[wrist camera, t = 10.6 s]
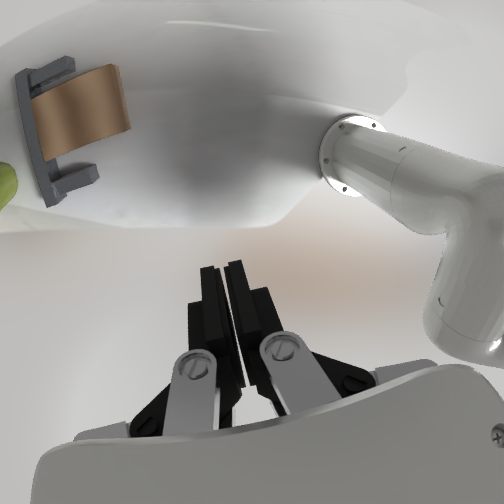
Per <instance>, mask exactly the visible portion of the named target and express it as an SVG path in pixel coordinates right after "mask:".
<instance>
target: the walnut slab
mask: <svg viewBox="0 0 504 504" xmlns="http://www.w3.org/2000/svg"><path fill="white" fill-rule="evenodd" d="M30 102H31V108H32V113H33V117H34V122H35V126H36V131H37V135H38V139H39V143H40V146H41V150H42V154H43V157H44V161H45V162H47V161H49V160H51V159H53V158H55V157H58V156H60V155H62V154H65V153H67V152H70V151H72V150H74V149H77V148H79V147H82V146H85V145H87V144H90V143H92V142H95V141H98V140H101V139H103V138H106V137H109V136H112V135H115V134H118V133H121V132H124V131H126V130H129V129H131V127H130V122H129V118H128V113H127V109H126V104H125V100H124V95H123V90H122V85H121V80H120V74H119V69H118V66H115V65H113V64H108V65H106V66H103V67H100V68H98V69H95V70H93V71H90V72H88V73H85V74H83V75H81V76H78V77H76V78H74V79H71V80H69V81H67V82H65V83H63V84H61V85H59V86H57V87H55V88H53V89H51V90H49V91H47V92H45V93H43V94H41V95H39V96H37V97H35V98H34V99H32V100H30Z"/></svg>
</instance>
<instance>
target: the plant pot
mask: <svg viewBox="0 0 504 504" xmlns="http://www.w3.org/2000/svg"><path fill="white" fill-rule="evenodd" d="M17 186H18V181H17V178H16V175H15V171H14V169H13V168H12V167H11V166H10V165H8V164H5V163H1V164H0V211H1V210H2V208H3V207H4V206H5V205H6V204H7V203H8V202H9V201H10V200H11V199H12V198H13V196H14V195H15V193H16V191H17Z"/></svg>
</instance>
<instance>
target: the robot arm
mask: <svg viewBox="0 0 504 504" xmlns="http://www.w3.org/2000/svg"><path fill="white" fill-rule="evenodd" d="M339 125H340V128H339ZM324 159H326V160H325V161H324ZM319 163H320V168H321V171H322V174H323V176H324V178H325V179H326V181H327V182H328V184H329V185H330V186H331V187H332V188H334V189H335V190H337V191H338V192H340V193H342V194H344V195H348V196H364V197H365V198H367V199H368V200H370V201H371V202H372V203H374V204H375V205H377V206H378V207H379V208H381V209H382V210H384V211H385V212H386V213H388V214H389V215H391V216H392V217H393V218H395V219H396V220H397V221H399V222H401V223H402V224H403V225H404V226H406V227H407V228H409V229H410V230H412V231H413V232H416V233H418V234H422V235H438V234H442V233H446V232H447V236H446V241H445V245H444V249H443V252H442V258H441V260H440V263H439V267H438V269H437V272H436V275H435V278H434V281H433V284H432V286H431V289H430V292H429V295H428V297H427V300H426V303H425V307H424V311H423V326H424V330H425V332H426V334H427V336H428V338H429V339H430V340H431V342H432V343H433V344H434V345H435V346H436V347H437V348H438V349H440V350H441V351H443V352H444V353H446V354H448V355H450V356H452V357H454V358H457V359H460V360H463V361H467V362H471V363H476V364H480V365H485V366H491V367H496V368H502V369H504V167H500V166H496V165H492V164H488V163H483V162H479V161H476V160H472V159H468V158H465V157H462V156H459V155H455V154H453V153H450V152H447V151H444V150H441V149H438V148H435V147H433V146H430V145H426V144H424V143H421V142H417V141H414V140H411V139H408V138H405V137H401V136H398V135H395V134H391V133H387V132H386V131H385V129H384V128H383V127H382V126H381V125H380V124H379V123H378V122H377V121H375V120H373V119H371V118H369V117H365V116H360V115H352V116H348V117H344V118H342V119H340V120H338V121H337V122H336V123H334V124H333V125H332V126H331V127H330V128H329V129H328V131H327V132H326V134H325V136H324V137H323V140H322V143H321V146H320V152H319ZM342 188H343V189H342ZM228 265H229V266H226V267H224V272H225V277H226V283H227V288H228V293H229V299H230V304H231V309H232V314H233V319H234V325H235V330H236V334H237V338H238V342H239V345H240V350H241V353H242V357H243V361H244V365H245V368H246V372H247V376H248V379H249V383H250V386H254V385H256V387H257V391H258V394H260V395H262V396H264V397H266V398H268V399H269V400H270V404H271V406H272V408H273V410H274V412H275V414H276V416H277V418H274V419H270V420H266V421H261V422H257V423H252V424H247V425H241V426H236V427H235V406H234V405H235V404H236V403H237V402H238V401H239V399H240V398H241V396H242V392H241V388H244V387H246V385H245V380H244V376H243V370H242V365H241V361H240V356H239V351H238V346H237V342H236V336H235V331H234V326H233V321H232V316H231V313H230V309H229V305H228V301H227V297H226V293H225V289H224V285H223V280H222V276H221V273H220V269H219V268H217V269H214V266H209V267H204V268H200V273H201V290H202V301H198V302H193V303H188V343H189V351H188V352H186V353H184V354H182V355H181V356H180V357H179V358H178V359H177V361H176V362H175V365H174V368H173V373H172V379H171V383H170V384H169V385H168V386H167V387H166V388H165V389H164V390H163V391H161V393H159V394H158V395H157V396H156V397H155V398H154V399H153V400H152V401H151V402H150V403H149V404H148V405H147V406H146V407H145V408H144V409H143V410H142V411H141V412H140V413H139V414H138V415H136V416H135V418H134V419H133V420H132V422H130V423H126V422H125V421H124V422H120V423H116V424H112V425H108V426H104V427H100V428H96V429H91V430H87V431H83V432H81V433H79V434H78V435H76V437H75V438H74V440H73V442H69V443H65V444H62V445H59V446H57V447H54V448H52V449H50V450H49V451H47V452H46V453H45V454H44V455H43V456H42V457H41V458H40V460H39V462H38V464H37V467H36V470H35V474H34V479H33V485H32V491H31V502H30V504H504V401H503V399H502V398H501V397H500V395H499V394H498V392H497V391H496V390H495V388H494V387H493V386H492V385H491V384H490V383H489V381H488V380H487V379H486V378H485V377H484V376H483V375H482V374H480V372H478V371H477V370H476V369H474V368H472V367H470V366H467V365H461V364H449V365H439V366H438V365H437V364H436V363H435V362H433V361H431V360H428V359H420V360H416V361H411V362H406V363H402V364H396V365H390V366H385V367H379V368H375V371H370V372H368V371H366V370H364V369H362V368H359V367H356V366H352V365H350V364H346V363H343V362H340V361H337V360H334V359H331V358H328V357H326V356H323V355H320V354H317V353H314V352H311V351H310V350H309V349H308V347H307V346H306V344H305V343H304V341H303V340H302V339H301V338H300V337H299V336H298V335H297V334H295V333H292V332H288V331H284V330H283V327H282V325H281V322H280V319H279V317H278V314H277V311H276V309H275V306H274V304H273V301H272V298H271V296H270V293H269V291H268V288H267V287H263V288H258V289H254V290H250V288H249V285H248V282H247V278H246V275H245V272H244V268H243V264H242V261H241V260H237V261H233V262H228Z"/></svg>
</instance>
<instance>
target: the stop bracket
mask: <svg viewBox="0 0 504 504" xmlns="http://www.w3.org/2000/svg"><path fill="white" fill-rule="evenodd" d="M74 71H76V69H75V61H74V58H71V57H68V56H64V57H62V58H60V59H58V60H56V61H53V62H51V63H49V64H48V65H46V66H44V67H42V68H40V69H29V68H26V69H24V70H22V71H21V72H19V73H17V74H16V75H15V79H16V87H17V94H18V100H19V106H20V112H21V117H22V122H23V127H24V132H25V136H26V140H27V144H28V148H29V152H30V156H31V160H32V163H33V167H34V170H35V174H36V177H37V180H38V183H39V187H40V190H41V193H42V196H43V199H44V201H45V204H46V207H47V208H48V207H51V206H53V205H56V204H58V203H59V202H60V201H61V200H63V199H64V198H65V197H66V196H67V194H66V192H69V191H72V190H75V189H78V188H81V187H84V186H87V185H90V184H93V183H94V182H95V181H96V180H97V179H98V178H99V174H98V171H97V167H96V164H95V165H92V166H89V167H86V168H83V169H80V170H77V171H75V172H72V173H69V174H67V175H64V176H61V175H60V172H59V168H58V165H57V161H56V158H53V159H51V160H49V161H47V162H45V161H44V157H43V154H42V150H41V146H40V143H39V139H38V135H37V131H36V126H35V122H34V117H33V113H32V108H31V102H30V100H32V99H34V98H35V97H37V96H39V95H41V87H42V86H44V85H46V84H48V83H50V82H52V81H54V80H57V79H59V78H61V77H63V76H65V75H67V74H70V73H72V72H74Z"/></svg>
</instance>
